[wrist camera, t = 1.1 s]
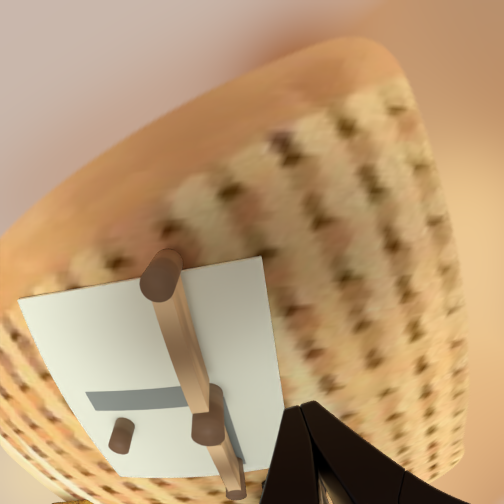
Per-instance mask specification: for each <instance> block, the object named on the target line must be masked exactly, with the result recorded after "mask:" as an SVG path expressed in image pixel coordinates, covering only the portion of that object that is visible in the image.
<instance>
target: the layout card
mask: <svg viewBox="0 0 504 504" xmlns="http://www.w3.org/2000/svg"><path fill="white" fill-rule="evenodd" d="M180 275H181V280H182V284H183V288H184V292H185V295H186V299H187V303H188V307H189V311H190V314H191V318H192V322H193V325H194V329H195V333H196V336H197V340H198V343H199V347H200V350H201V353H202V357H203V360H204V363H205V367H206V370H207V373H208V376H209V383H213V384H216V385H218V386H219V387H220V388H221V389H222V391H223V403H224V425H225V428H226V431H227V433H228V436H229V439H230V442H231V444H232V447H233V450H234V453H235V455H236V457H239V458H241V459H242V460H243V468H244V472H248V471H255V470H261V469H267V468H269V467H270V463H271V459H272V455H273V451H274V447H275V443H276V439H277V435H278V431H279V427H280V423H281V419H282V414H283V411H284V402H283V395H282V389H281V382H280V375H279V368H278V361H277V355H276V348H275V341H274V335H273V328H272V321H271V315H270V308H269V302H268V295H267V288H266V282H265V275H264V269H263V263H262V257H261V256H257V257H251V258H246V259H240V260H235V261H229V262H224V263H218V264H212V265H207V266H201V267H196V268H190V269H185V270H182V271H181V274H180ZM140 278H141V277H140ZM140 278H134V279H128V280H122V281H117V282H111V283H105V284H100V285H94V286H88V287H82V288H77V289H71V290H65V291H59V292H54V293H48V294H42V295H36V296H30V297H24V298H19V299H18V303H19V306H20V308H21V311H22V313H23V316H24V318H25V321H26V323H27V325H28V328H29V330H30V332H31V335H32V337H33V339H34V341H35V343H36V346H37V348H38V350H39V352H40V354H41V356H42V358H43V360H44V362H45V364H46V366H47V368H48V370H49V372H50V374H51V375H52V377H53V379H54V381H55V383H56V384H57V386H58V388H59V390H60V392H61V393H62V395H63V397H64V398H65V400H66V402H67V403H68V405H69V407H70V408H71V410H72V411H73V413H74V414H75V416H76V418H77V419H78V421H79V422H80V424H81V425H82V427H83V428H84V430H85V431H86V432H87V434H88V435H89V437H90V438H91V440H92V441H93V442H94V444H95V445H96V446H97V448H98V449H99V450H100V452H101V453H102V454H103V456H104V457H105V458H106V460H107V461H108V462H109V463H110V465H111V466H112V467H113V468H114V470H115V471H116V472H117V473H118V474H119V476H120V477H140V478H181V477H201V476H214V475H220V474H219V472H218V470H217V468H216V466H215V464H214V462H213V460H212V458H211V456H210V454H209V451H208V449H207V447H206V446H203V445H199V444H197V443H196V442H194V441H193V440H192V438H191V429H192V413H191V411H190V408H189V406H188V403H187V401H186V398H185V396H184V393H183V391H182V388H181V385H180V383H179V380H178V378H177V375H176V372H175V370H174V367H173V364H172V361H171V358H170V356H169V353H168V350H167V347H166V344H165V341H164V338H163V335H162V332H161V329H160V326H159V323H158V320H157V317H156V313H155V310H154V307H153V304H152V301H150V300H149V299H147V298H146V297H145V296H144V295H143V294H142V292H141V290H140V285H139V283H140ZM120 417H124V418H127V419H129V420H131V421H132V422H133V423H134V425H135V429H134V433H133V437H132V441H131V445H130V449H129V453H128V454H125V455H122V454H117V453H115V452H113V451H112V450H111V449H110V448H109V447H108V444H109V440H110V437H111V434H112V431H113V428H114V425H115V422H116V419H117V418H120Z"/></svg>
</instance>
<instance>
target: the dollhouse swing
mask: <svg viewBox="0 0 504 504" xmlns="http://www.w3.org/2000/svg"><path fill="white" fill-rule="evenodd" d="M52 504H93V503H91V502H89V501H88V500H80V501H70V502H57V503H52Z"/></svg>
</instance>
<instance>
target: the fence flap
mask: <svg viewBox="0 0 504 504" xmlns="http://www.w3.org/2000/svg"><path fill="white" fill-rule="evenodd" d="M182 268H183V260H182V258H181V256H180V255H179V253H177V252H176V251H174V250H172V249H163V250H161V251H159V252H158V253H157V254H156V256H155V257H154V259H153V260H152V261H151V263H150V264H149V266H148V267H147V269H146V270H145V272H144V273H143V274H142V276H141V278H140V283H139V285H140V290H141V292H142V294H143V295H144V296H145V297H146V298H147V299H149V300H150V301H152V304H153V307H154V310H155V313H156V317H157V320H158V323H159V326H160V329H161V332H162V335H163V338H164V341H165V344H166V347H167V350H168V353H169V356H170V358H171V361H172V364H173V367H174V370H175V372H176V375H177V378H178V380H179V383H180V385H181V388H182V391H183V393H184V396H185V398H186V401H187V403H188V406H189V408H190V411H191V413H192V414H194V413H203V412H209V376H208V373H207V370H206V367H205V363H204V360H203V357H202V353H201V350H200V347H199V343H198V340H197V336H196V333H195V329H194V325H193V322H192V318H191V314H190V311H189V307H188V303H187V299H186V295H185V292H184V288H183V284H182V280H181V275H180V274H181V271H182Z"/></svg>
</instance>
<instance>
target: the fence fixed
mask: <svg viewBox="0 0 504 504" xmlns="http://www.w3.org/2000/svg"><path fill="white" fill-rule="evenodd" d="M134 429H135V425H134V423H133V422H132V421H131V420H129V419H127V418H124V417H120V418H117V419H116V422H115V425H114V428H113V431H112V434H111V437H110V440H109V444H108V447H109V448H110V449H111V450H112V451H113V452H115V453H117V454H122V455H125V454H128V453H129V449H130V445H131V441H132V437H133V433H134ZM191 438H192V440H193V441H194V442H196V443H197V444H199V445H203V446H206V447H207V449H208V451H209V454H210V456H211V458H212V460H213V462H214V464H215V466H216V468H217V470H218V472H219V474H220V476H221V478H222V480H223V482H224V484H225V486H226V497H227V498H228V499H231V500H241V499H244V498H246V496H247V494H246V486H245V477H244V468H243V460H242V459H241V458H239V457H236V455H235V453H234V450H233V447H232V444H231V442H230V439H229V436H228V433H227V431H226V428H225V425H224V403H223V391H222V389H221V388H220V387H219V386H218V385H216V384H213V383H209V412H203V413H194V414H192V429H191Z"/></svg>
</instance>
